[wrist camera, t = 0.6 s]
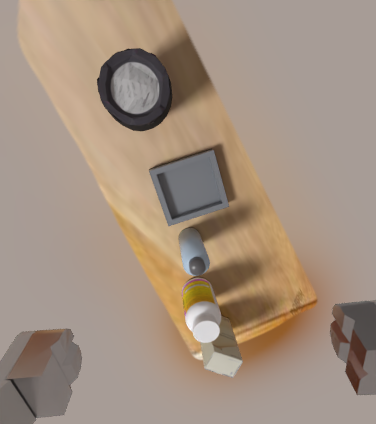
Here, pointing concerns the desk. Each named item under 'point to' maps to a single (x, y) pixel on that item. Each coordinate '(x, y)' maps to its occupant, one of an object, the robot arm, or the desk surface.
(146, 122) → the portable speaker
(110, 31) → the desk surface
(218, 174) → the box
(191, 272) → the blue bottle
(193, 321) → the supplement bottle
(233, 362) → the skincare box
